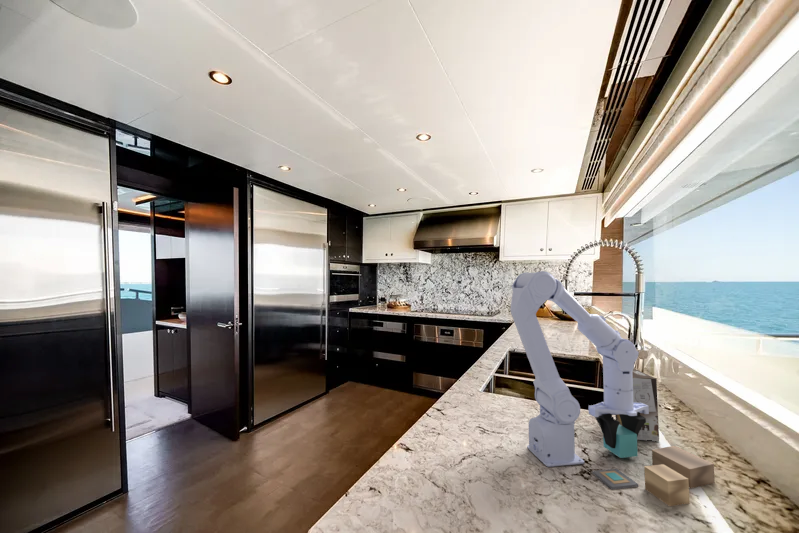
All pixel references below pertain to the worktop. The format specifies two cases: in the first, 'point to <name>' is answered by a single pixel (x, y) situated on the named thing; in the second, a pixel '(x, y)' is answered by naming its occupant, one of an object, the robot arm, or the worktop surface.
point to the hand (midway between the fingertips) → (619, 445)
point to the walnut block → (685, 465)
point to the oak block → (667, 485)
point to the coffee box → (647, 395)
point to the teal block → (624, 443)
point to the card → (615, 479)
